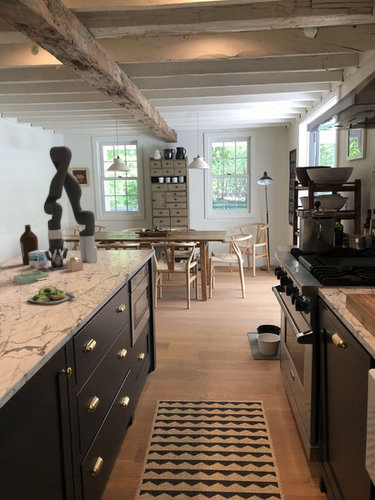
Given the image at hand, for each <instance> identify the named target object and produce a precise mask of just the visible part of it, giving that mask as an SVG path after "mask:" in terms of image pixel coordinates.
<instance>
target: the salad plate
mask: <svg viewBox="0 0 375 500" xmlns="http://www.w3.org/2000/svg"><path fill="white" fill-rule="evenodd" d="M74 298H75V299H76V296H75V293H74V292H72V291H64V290H63V289H58V288H57V287H56V286H55V285H54V286H53V285H46V286H44V287H41V288H39V290H38V294H35V295H33V296H29V297H28V298H27V300H28V302H29V303H31V304H33V305H34V304H35V305H49V304H51V305H57V304H58V303H59V304H62V302H63V303H65V302H67V301H70V300H71V299H74ZM48 301H49V302H48Z"/></svg>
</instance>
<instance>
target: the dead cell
mask: <svg viewBox="0 0 375 500" xmlns="http://www.w3.org/2000/svg"><path fill="white" fill-rule="evenodd" d="M78 260H79V259H78V257H76V256H72V257H70V261H71V262H75V261H78Z"/></svg>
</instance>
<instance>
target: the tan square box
mask: <svg viewBox="0 0 375 500" xmlns="http://www.w3.org/2000/svg"><path fill="white" fill-rule="evenodd" d="M83 263H84V262H83V261H82V260H81V259H78V261H75V262H71V261H70V260H66V267H67V269H66V270H67V271H69V272H77V271H78V272H79V271H83V270H84V266H83V265H84V264H83Z"/></svg>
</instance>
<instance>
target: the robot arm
mask: <svg viewBox="0 0 375 500" xmlns="http://www.w3.org/2000/svg"><path fill="white" fill-rule="evenodd" d="M72 155H73V153H72V150H71V148H70V147H68V146H63V145H62V146H61V145H60V146H59V145H58V146H52V147H50V149H49V156H50V157H49V158H50V160H51V162H52V164H53V166H54V168H55V169H56V172H55V174H54V175H53V177H52V179H51V181H50V183H49V190H48V195H47V196H46V199H45V201H44V204H43V211H44V213H45V214H46V215H50V216H51V218H50V219H48V220H47V238H48V249H47V251H44V253H45V255H46V258H47V260H49V262H50V267H53V268H55V261H54V260H55V257H56V255H59V256H60V258H61V267H62V266H64V260H65V259H67V255H68V251H69V249H68V248H66V247H64V246H63V245H64V243H63V232H62V223H61V221H62V218H63V217H62V216H63V211H64V209H63V206H62V204H61V203H60V202H57V201H58V200H60V199H61V198H62V196H63V190H64V191H65V193H66V196H67V198H68V200H69V204H70V206H71V208H72V213H73V217H74V219H75V222H76V224H78V225H79V226H80V225H81V226H84V229H82V230H80V231H79V233H78V235H79V238H78V239H79V251H80V260H82V261H83V263H85V264H87V263H89V264H90V263H91V264H95V263H97V262H98V255H97V254H98V251H97V247H96V244H95V243H96V242H95V240H96V239H95V232H96V231H95V230H96V227H95V225H96V224H95V223H96V218H95V213H94V211H92V210H83V209H82V206H81V198H82V193H83V191H82V190H83V189H82V188H81V185H80V182H79V180H78V179H77V177H76V176H75V175H74V174H73V173H72V172H71V171H70V170H69V167H70V164H71V161H72ZM62 252H63V253H62Z"/></svg>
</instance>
